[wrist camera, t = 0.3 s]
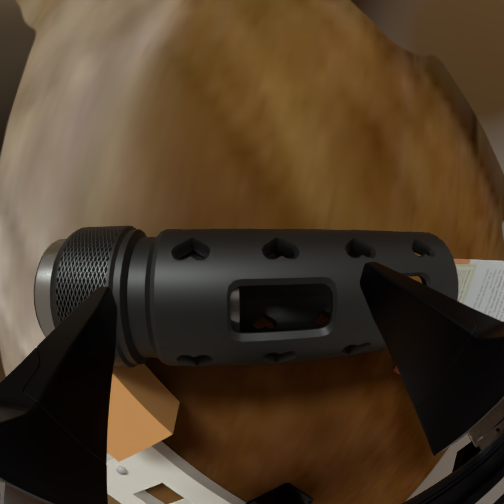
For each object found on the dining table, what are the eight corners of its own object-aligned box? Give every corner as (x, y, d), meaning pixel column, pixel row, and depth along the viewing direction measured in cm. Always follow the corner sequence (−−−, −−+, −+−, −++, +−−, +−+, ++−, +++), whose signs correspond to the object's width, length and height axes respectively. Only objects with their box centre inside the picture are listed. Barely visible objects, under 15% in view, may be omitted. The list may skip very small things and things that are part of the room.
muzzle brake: (385, 326, 26) (453, 357, 16) (97, 335, 23) (40, 379, 13) (388, 231, 26) (463, 225, 16) (91, 232, 23) (24, 223, 12)
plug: (182, 391, 24) (172, 434, 17) (136, 420, 23) (118, 461, 16) (136, 339, 23) (110, 369, 16) (92, 372, 23) (61, 405, 16)
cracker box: (420, 383, 27) (547, 461, 6) (390, 369, 26) (536, 464, 5) (470, 280, 27) (609, 298, 7) (445, 256, 27) (607, 262, 6)
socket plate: (246, 502, 25) (248, 515, 22) (178, 527, 23) (177, 538, 21) (150, 430, 23) (145, 443, 21) (86, 463, 22) (80, 473, 20)
